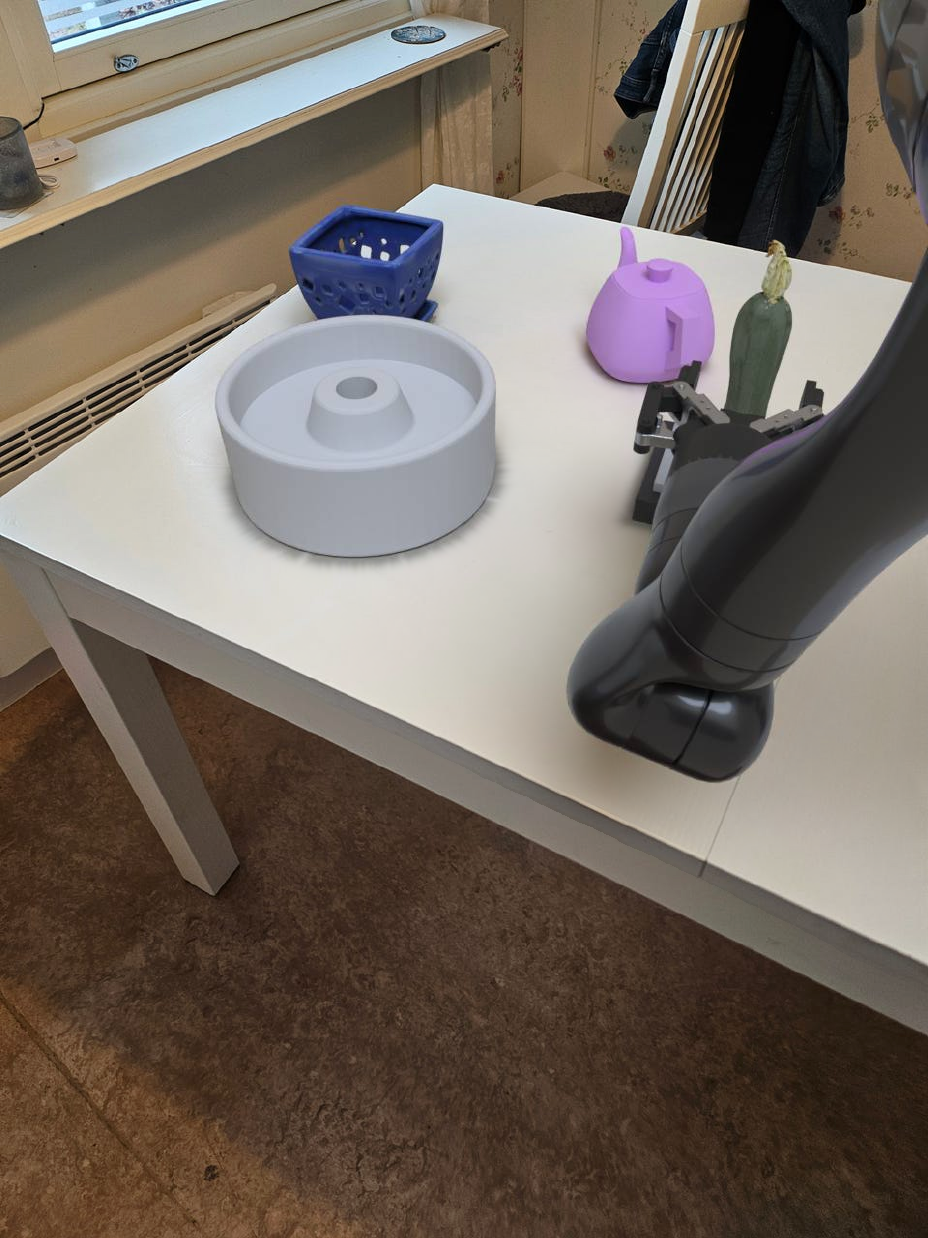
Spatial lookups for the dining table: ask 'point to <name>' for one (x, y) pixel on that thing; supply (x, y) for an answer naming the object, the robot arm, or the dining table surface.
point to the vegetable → (760, 339)
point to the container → (359, 433)
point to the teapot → (650, 318)
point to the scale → (653, 481)
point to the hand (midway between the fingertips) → (750, 380)
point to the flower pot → (368, 264)
